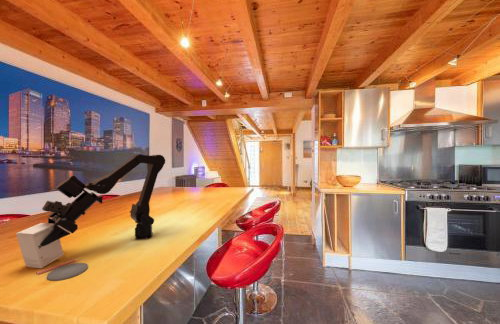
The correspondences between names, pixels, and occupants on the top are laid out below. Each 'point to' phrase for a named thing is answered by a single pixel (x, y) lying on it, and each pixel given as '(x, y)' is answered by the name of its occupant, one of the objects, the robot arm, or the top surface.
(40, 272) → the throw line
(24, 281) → the top surface
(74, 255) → the top surface
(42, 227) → the supplement box
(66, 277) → the disc
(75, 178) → the robot arm
